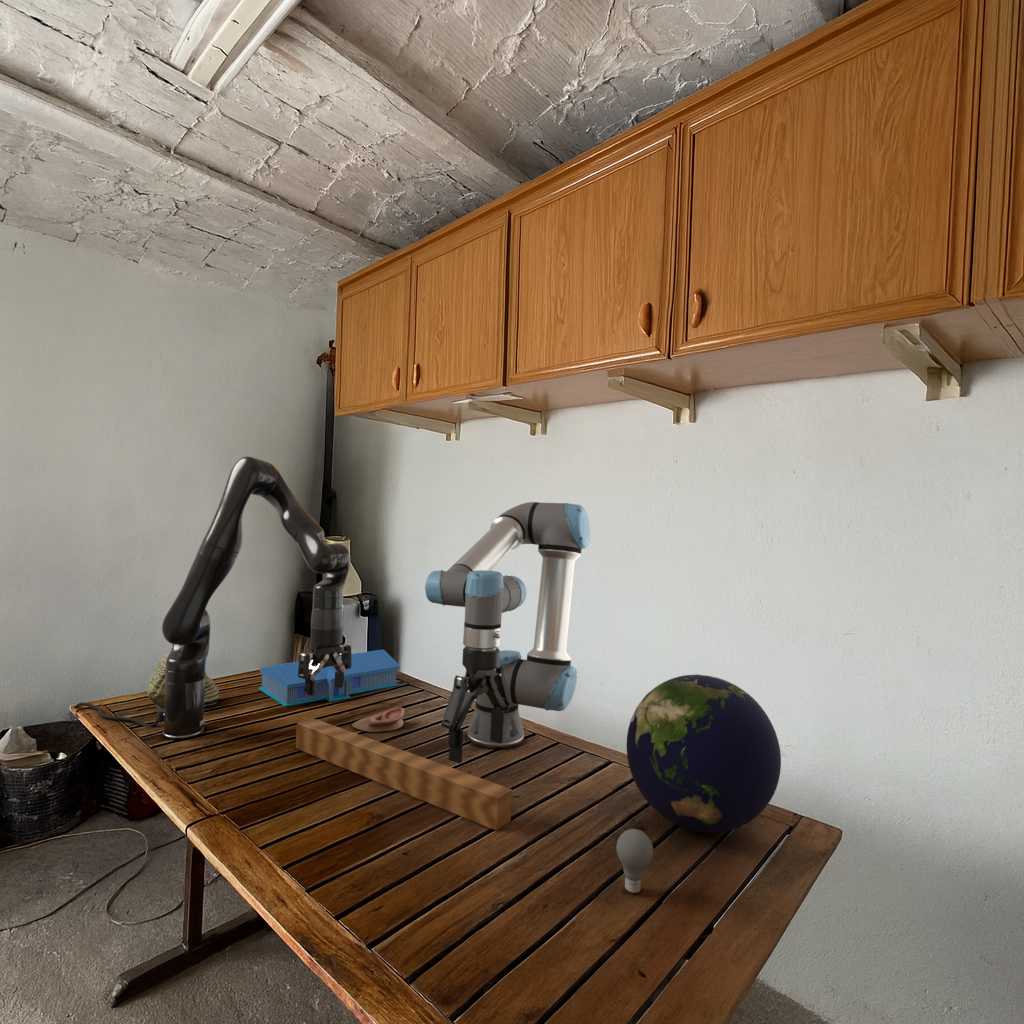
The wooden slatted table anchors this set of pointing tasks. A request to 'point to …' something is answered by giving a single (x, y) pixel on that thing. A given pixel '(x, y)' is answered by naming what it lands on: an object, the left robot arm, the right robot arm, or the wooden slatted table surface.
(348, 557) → the left robot arm
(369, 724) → the anatomical model
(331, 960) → the wooden slatted table surface
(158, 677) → the fossil
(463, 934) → the wooden slatted table surface
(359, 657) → the model building
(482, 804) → the post
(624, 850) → the light bulb
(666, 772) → the globe
